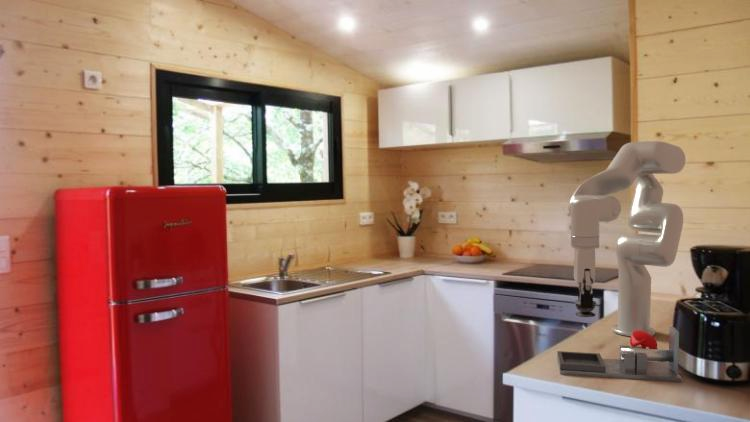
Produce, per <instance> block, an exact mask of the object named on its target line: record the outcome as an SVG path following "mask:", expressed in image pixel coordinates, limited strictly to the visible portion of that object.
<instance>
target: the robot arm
mask: <svg viewBox="0 0 750 422" xmlns="http://www.w3.org/2000/svg"><path fill="white" fill-rule="evenodd" d="M685 164H686V154H685V152H684V150H683V149H682V148H681V147H680V146H677V145H674V144H672V143H668V142H666V141H665V142H664V141H662V140H661V141H660V140H651V141H648V140H647V141H631V142H630V141H629V142H628V143H625V144H623V145H622V146H621V147H620V149H619V150H618V151H617V153H616V154H615V156H614V157H613V159H612V161H611V162H610V163H609V165H608V166H607V168H606V169H605V170H602V171H601V172H598V173H596V174H595V175H593V176H591V177H590V178H588V179H586V180H584V181H583V182H582V183H581V184H580V185H579V186H578V187H577V188H576V189H575V191H574V192H573V194H572V196H571V197H570V199H569V203H568V213H569V215H570V247H571V248H572V249H574V250H573V251H574V252H573V253H574V254H573V279H574V281H575V284H578V290H577V300H579V297H580V290H579V288H580V282H581V289H582V294H581V308H593V301H594V293H593V285H594V284H595V282H596V249H599V248H600V223H601V222H605V223H610V222H613V221H615V220H616V219H618V218H619V216H620V214H621V211H622V206H621V202H620V200H619V199H618V198H616V197H615V196H612V195H611V194H616V193H620V192H622V191H625V190H626V189H630V188H631V186H632V185H633V184H634V192H633V196H632V201H631V204H630V208H629V212H628V218H627V224H628V226H629V228H630V229H631V230H633V231H635V232H641V233H634V232H633V233H624V234H622V235H621V236H619V237H618V238H617V240H616V242H615V253H616V259H617V265H618V267H617V269H618V282H617V283H618V285H617V287H618V289H617V293H618V294H617V295H618V296H617V324H614V325H613V326H612V327H611V328H612V329H611V330H612V332H614V333H615V334H617V335H622V336H626V337H631V336H632V333H633V332H634V331H636V330H641V331H645V332H647V333H649V334H650V335H651V336H653V337H654V335H656V329H654V328H653V327H651V307H652V306H651V305H652V303H651V302H652V301H651V299H652V293H651V292H652V278H651V275H650V272H649V271H648V269H647V268H646V266H652V267H663V268H665V267H666V268H667V267H670V266H671V265H673V263H674V262H675V260H676V257H677V252H678V249H679V245H680V240H681V236H682V231H683V226H684V213H683V210H682V208H681V207H680V206H679V205H677V204H676V203H669V202H662V201H663V196H664V189H663V186H662V185H661V183H660V181H659V180H658V179H657V178H656V176H655V174H659V175H661V174H662V175H663V174H664V175H665V174H667V175H668V174H670V175H672V174H673V175H675V174H679V173H680V172H681V171H683V169H684V167H685ZM643 232H644V233H643ZM645 233H646V234H645ZM647 233H652V234H647ZM658 234H660V235H658ZM584 274H585V275H584ZM583 281H585V283H583ZM584 285H585V286H584Z"/></svg>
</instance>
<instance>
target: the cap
mask: <svg viewBox="0 0 750 422" xmlns="http://www.w3.org/2000/svg"><path fill="white" fill-rule="evenodd" d="M629 344H630V347H631V346H640V347H642V349H647V348H648V349H657V350H659V348H658V342H657V340H656V339H655V337H654V335H653V336H651V335H650V334H649V333H647V332H645V331H641V330H636V331H634V332H633V333H632V336H630V339H629Z"/></svg>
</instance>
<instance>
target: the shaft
mask: <svg viewBox="0 0 750 422" xmlns="http://www.w3.org/2000/svg"><path fill="white" fill-rule="evenodd" d="M668 333H669V338H668V349H658V348H657V349H658V350H657V349H649V348H646V349H639V348H621V349H620V348H619V358H620V357H621V359H624V352H634V354H635V352H636V353H646V354H647V361H652V362H669V366H670V367H671V368H672V370H673V371H676V372H678V371H679V351H680V350H679V347H680V346H679V344H680V340H679V339H680V332H679V330H677V328H675V326H669V332H668Z"/></svg>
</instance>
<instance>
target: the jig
mask: <svg viewBox="0 0 750 422" xmlns="http://www.w3.org/2000/svg"><path fill="white" fill-rule="evenodd" d="M621 348H639V349H642V347H641V346H640V345H638V346H631V345H619V350H620V349H621ZM556 354H557V355H556V360H557V365H558V369H559V374H560V375H571V376H572V375H573V376H586V377H600V378H613V377H615V378H616V379H628V378H629V380H630V379H631V380H645V381H660V382H661V381H662V382H673V383H674V382H675V383H677V382H678V383H682V378H683V377H681V375H680V374H679V372H678V371H673V370H672V368H671V367H670V366H669V362H657V361H647V354H646V353H636V352H635V354H634V352H624V359H621V357H620V356H619V359H616V358H615V359H614V358H602V356H601V353H599V352H598V353H596V352H595V353H594V352H582V351H581V352H580V351H560V350H557V353H556Z"/></svg>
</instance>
